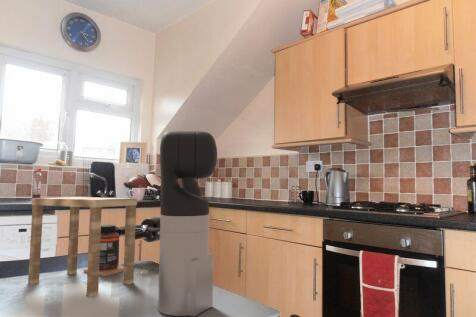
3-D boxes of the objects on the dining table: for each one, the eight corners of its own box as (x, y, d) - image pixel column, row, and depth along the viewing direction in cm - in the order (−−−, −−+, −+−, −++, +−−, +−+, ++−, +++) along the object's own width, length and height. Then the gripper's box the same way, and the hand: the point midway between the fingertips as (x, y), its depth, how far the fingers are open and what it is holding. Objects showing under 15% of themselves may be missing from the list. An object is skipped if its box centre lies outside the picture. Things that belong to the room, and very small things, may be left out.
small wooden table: (134, 282, 78) (137, 198, 80) (91, 297, 68) (95, 199, 70) (72, 272, 88) (76, 197, 90) (26, 283, 78) (31, 198, 80)
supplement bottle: (107, 264, 94) (109, 223, 95) (123, 266, 91) (124, 224, 92) (89, 269, 88) (91, 225, 89) (105, 271, 86) (107, 226, 87)
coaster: (128, 269, 91) (128, 266, 91) (105, 276, 84) (105, 273, 84) (108, 266, 95) (108, 263, 95) (83, 272, 88) (83, 269, 88)
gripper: (141, 216, 112) (102, 220, 98) (175, 217, 106) (139, 223, 91) (141, 238, 112) (101, 246, 97) (175, 241, 105) (138, 250, 91)
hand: (119, 235), depth 94 cm, fingers open, 8 cm apart
